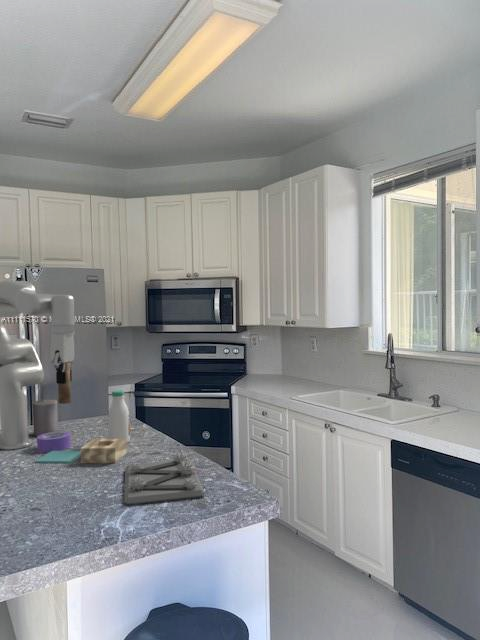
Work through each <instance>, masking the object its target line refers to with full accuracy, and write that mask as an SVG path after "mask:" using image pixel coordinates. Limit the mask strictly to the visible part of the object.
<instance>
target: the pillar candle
mask: <svg viewBox="0 0 480 640" xmlns="http://www.w3.org/2000/svg"><path fill="white" fill-rule="evenodd" d="M58 413H59V411H58V400H56V399H41V400H36V401H33V402H32V414H33V415H32V418H33V419H32V420H33V436H34V437H36V438H37V437H38V436H39V435H41V434H45V433H49V432H58V431H59V414H58Z"/></svg>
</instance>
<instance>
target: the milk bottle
mask: <svg viewBox="0 0 480 640" xmlns="http://www.w3.org/2000/svg"><path fill="white" fill-rule="evenodd" d="M111 397H112V402H111V405H110V407H109V410H108V435H109V436H108V439H126V443H127V444H129V443H130V441H131V438H130V437H131V435H130V434H131V433H130V412H129V408H128V405H127V404H126V401H125V391H124V390H113V391H112V392H111Z"/></svg>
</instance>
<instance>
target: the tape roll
mask: <svg viewBox="0 0 480 640" xmlns="http://www.w3.org/2000/svg"><path fill="white" fill-rule="evenodd" d="M71 442H72V441H71V432H69V431H59V430H58V432H49V433H45V434H41V435H39V436H38V437H36V443H37V444H36V445H37V451H38V452H40V453H49V452H51V451H67V450H68V449H70V447H72V445H71V444H72V443H71Z"/></svg>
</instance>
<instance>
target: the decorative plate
mask: <svg viewBox="0 0 480 640" xmlns="http://www.w3.org/2000/svg"><path fill="white" fill-rule="evenodd" d="M184 453H185V452H184V451H182V452H181V451H179V452H176V454H175V455H174V456H173V457H172V459H173V460H164V461H154V462H144V463H142V462H141V463H139V462H140V461H137V462H132V463H131V464H128V465H127V466H126V467H125V469H124V473H125V476H124V504H126V505H127V506H130V505H131V506H133V505H142V504H149V503H150V504H151V503H160V502H170V501H176V500H177V501H178V500H188V499H196V498H203V497H204V496H206V492H205V490H204V487H203V484H202V482H201V479H200V477H199V474H198V471H197V469H196V466H195V462H193V460H191V459H190V457H188V456H189V455H190V454H188V453H187V452H186V453H185V454H184Z"/></svg>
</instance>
